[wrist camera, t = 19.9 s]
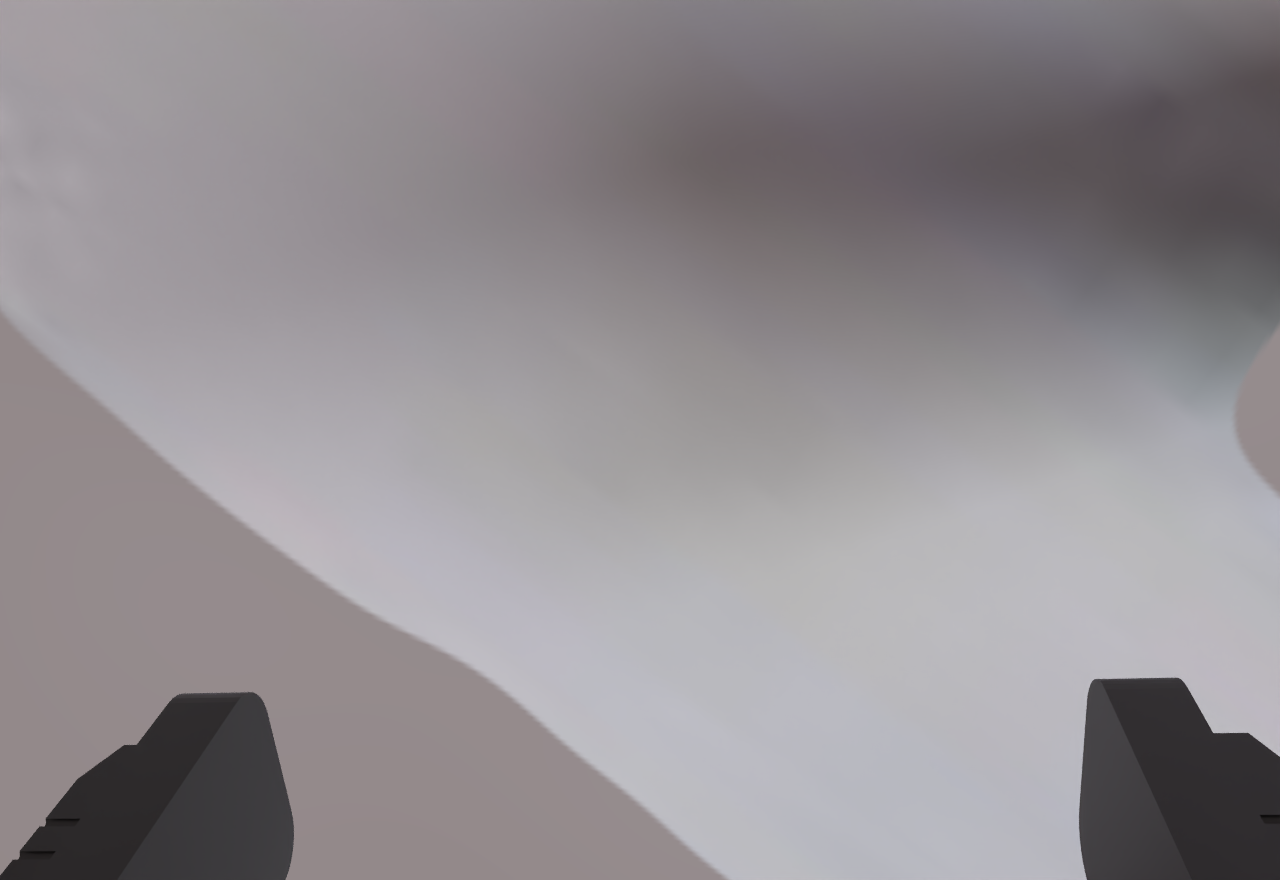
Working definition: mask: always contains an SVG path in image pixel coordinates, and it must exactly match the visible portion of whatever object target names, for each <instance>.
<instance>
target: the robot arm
mask: <svg viewBox="0 0 1280 880" xmlns="http://www.w3.org/2000/svg"><path fill="white" fill-rule="evenodd" d="M1079 831H1080V843H1081V851H1082V858H1083V864H1084V869H1085V873H1086V877H1087V880H1280V757H1279V756H1278V755H1276V754H1275V753H1274V752H1272V751H1271V750H1270V749H1269V748H1267V747H1266V746H1265V745H1263V744H1262V743H1261V742H1259V741H1258V740H1257V739H1256V738H1254V737H1253V736H1252V735H1250V734H1249V733H1213V732H1212V730H1211V728H1210V727H1209V725H1208V723H1207V721H1206V720H1205V718H1204V716H1203V714H1202V713H1201V711H1200V709H1199V707H1198V705H1197V704H1196V702H1195V700H1194V698H1193V697H1192V695H1191V693H1190V691H1189V690H1188V688H1187V686H1186V685H1185V683H1184V682H1183V681H1182V680H1181V679H1179V678H1136V679H1094V680H1093V681H1092V683H1091V685H1090V688H1089V692H1088V698H1087V710H1086V724H1085V738H1084V752H1083V766H1082V780H1081V794H1080V808H1079ZM293 840H294V825H293V817H292V812H291V808H290V804H289V799H288V795H287V791H286V787H285V783H284V779H283V775H282V771H281V766H280V762H279V758H278V754H277V750H276V746H275V742H274V738H273V734H272V729H271V725H270V722H269V717H268V713H267V710H266V707H265V705H264V702H263V701H262V699H261V698H260V697H259V696H258V695H257V694H255V693H252V692H248V693H193V694H192V693H191V694H179V695H177V696H176V697H174V698H173V699H172V700H171V701H170V702H169V703H168V705H167V706H166V707H165V709H164V710H163V711H162V712H161V714H160V715H159V716H158V718H157V719H156V720H155V722H154V723H153V724H152V726H151V727H150V728H149V729H148V731H147V732H146V733H145V735H144V736H143V737H142V739H141V740H140V741H139V743H138V744H137V745H124V746H122V747H121V748H120V749H118V750H117V751H115V752H114V753H113V754H112V755H110V756H109V757H108V758H106V759H104V760H103V761H102V762H100V763H99V764H98V765H96V766H95V767H94V768H92V769H91V770H89V771H88V772H87V773H85V774H84V775H83V776H81V777H80V778H78V779H77V780H76V782H75V783H74V784H73V785H72V787H71V788H70V789H69V791H68V792H67V793H66V794H65V795H64V797H63V798H62V799H61V800H60V802H59V803H58V804H57V805H56V807H55V808H54V809H53V810H52V812H51V813H50V814H49V815H48V817H47V818H46V825H45V827H39V828H38V829H37V830H36V832H35V833H34V834H33V835H32V837H31V838H30V839H29V840H28V842H27V843H26V844H25V845H24V847H23V848H22V849H21V850H20V857H19V859H18V860H12V862H11V863H10V864H9V865H8V867H7V868H6V869H5V870H4V872H3V873H2V874H1V875H0V880H285V879H286V877H287V874H288V871H289V867H290V863H291V857H292V851H293Z"/></svg>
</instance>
